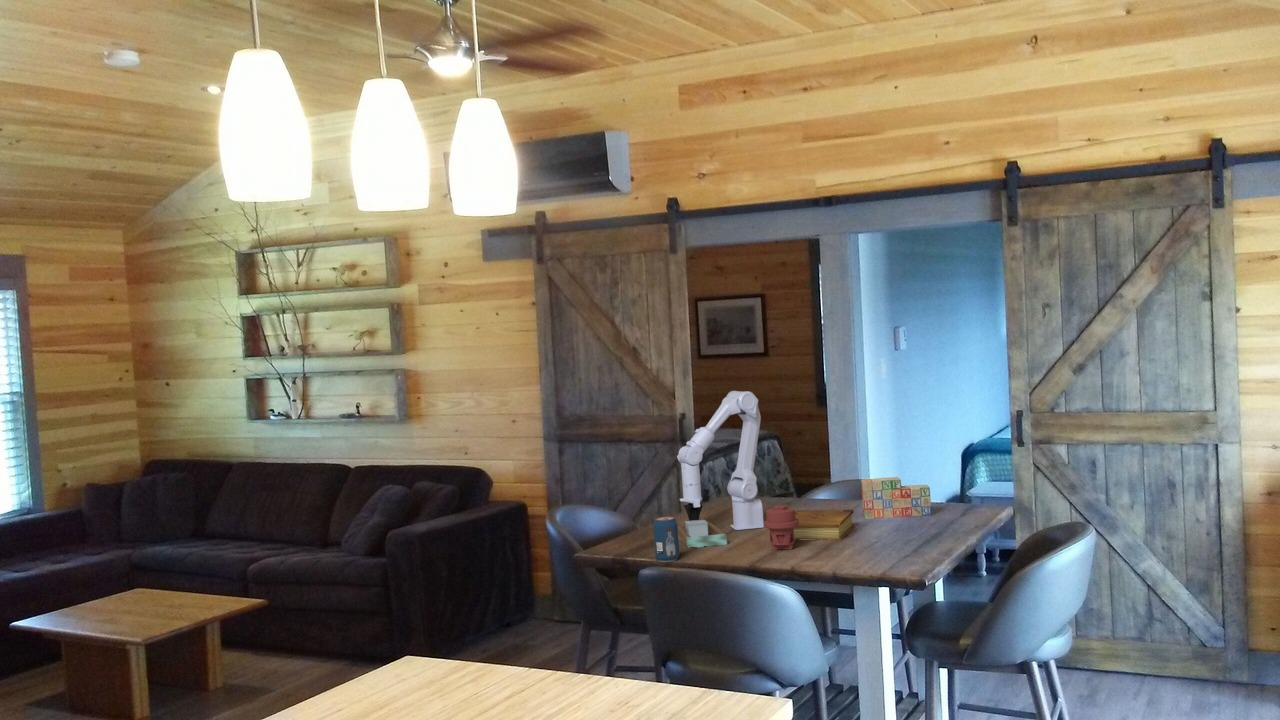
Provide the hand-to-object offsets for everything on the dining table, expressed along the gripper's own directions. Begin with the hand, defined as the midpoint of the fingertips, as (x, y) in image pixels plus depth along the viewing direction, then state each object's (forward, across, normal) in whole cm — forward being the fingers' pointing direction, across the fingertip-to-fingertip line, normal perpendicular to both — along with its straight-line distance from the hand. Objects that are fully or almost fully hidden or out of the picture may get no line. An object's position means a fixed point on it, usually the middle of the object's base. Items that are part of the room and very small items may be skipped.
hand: (694, 526), depth 357 cm
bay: (+3, +5, 0) cm, 6 cm away
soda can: (+3, +33, -14) cm, 36 cm away
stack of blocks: (+3, -2, +68) cm, 68 cm away
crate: (+3, +4, 0) cm, 5 cm away
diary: (+3, +15, +36) cm, 39 cm away
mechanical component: (+3, +33, +20) cm, 38 cm away
